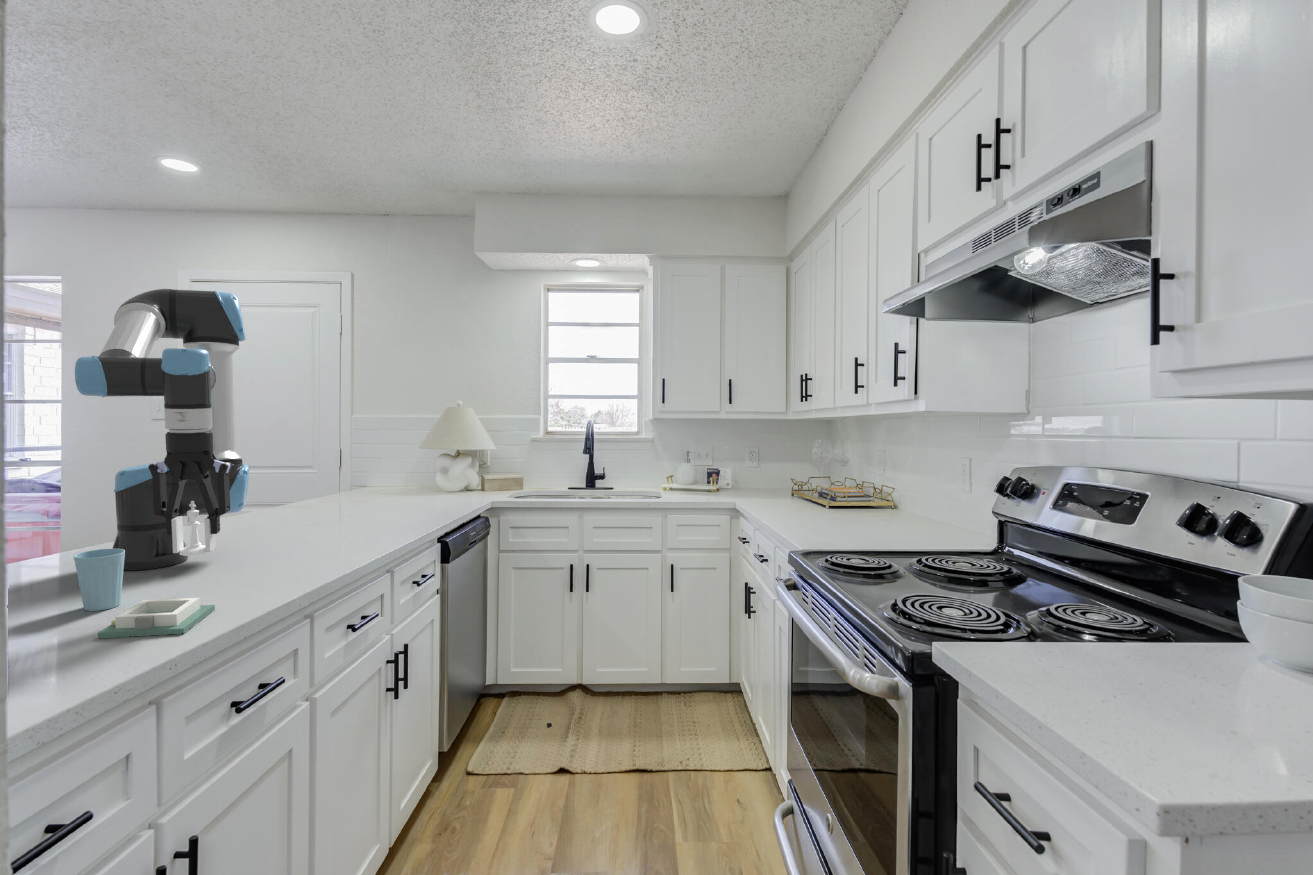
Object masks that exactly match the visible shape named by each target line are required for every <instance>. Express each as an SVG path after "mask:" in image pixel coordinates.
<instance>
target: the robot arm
mask: <svg viewBox="0 0 1313 875" xmlns="http://www.w3.org/2000/svg"><path fill="white" fill-rule="evenodd" d="M113 324H114V328H112V331H111V333H110V335H109V337H108V338H107V341H106V342H105V344H104V345H103V348H102V350H101V352H100V354H99V355H98V356H97V355H92V356H81V357H80V356H79V357H78V358H77V360H76V362H75V365H74V380H75V385H76V389H77V391H78V392H79V393H80V394H81V395H83V396H90V397H91V396H92V397H102V398H106V397H163V402H164V404H163V408H164V410H163V411H164V427H165V429H166V430H168V431H167V432H166V433H165V434H164V435H165V437H164V438H165V450H166V456H165V458H164V460H162V461H159V462H158V461H157V462H153V463H152V462H151V463H146V464H141V465H135V466H134V465H133V466H130V467H126V468H123V469H121V470H119V471H118V472H116V474H115V478H114V481H115V482H114V489H113V492H114V493H115V511H116V530H117V531H116V532H117V533H116V536H115V539H114V542H113V544H112V548H111V549H123V550H125V558H124V569H123V571H141V570H142V571H143V570H151V569H161V568H165V567H170V566H174V565H178V564H180V563H184V562H185V561H187V560H188V559H189V556H183V555H180V554H179V553H180V549H182V548H184V547H187V546H188V545H187V543H186V542H185V540H184V526H183V517H188V515H187V511H190V510H191V507H190V506H189V504H191V501H194V505H196V507H195V510H198V511H199V514H198V516H206V518H204V519H203V520H204V539H205V541H204V545H205V546H206V552H208V553H211V552H212V551H214V550H216V549H217V548H216V546H217V543H216V541H217V540H216V535H217V534H219V533H220V531H221V516H223V515H226V514H232V513H238V512H241V511H242V510H243V509H244V508H245V505H246V502H247V493H248V488H249V480H250V479H249V478H250V466H249V465H248V464H243V457H242V456H241V455H240V454H239V453H238V452H236V444H235V443H236V440H235V439H236V438H235V436H236V435H235V409H234V408H235V407H234V406H235V405H234V376H233V374H234V372H233V371H234V370H233V354H234V353H236V352H237V351H238V350H239V349H240V342H243V341H245V340H247V339H246V333H245V327H244V321H243V314H242V309H241V304H240V301H239V297H237V295H235V294H233V293H230V292H222V291H217V290H191V289H172V288H159V289H152V290H148V291H145V292H142V293H140V294H137V295H135V296H133V297H131V298H129V299H127V300H126V301H124V302H123V303H122V304H121V305H120V306H119V307H118V309H117V310H116V312H115V314H114V318H113ZM159 339H178V340H179V339H181V340H182V346H183V347H184V348H176V347H175V348H174V347H173V348H172V347H169V348H164V349H163V350H162V352H161V357H150V354H151V351H152V349H153V346H154V344H155V342H156V341H158V340H159Z"/></svg>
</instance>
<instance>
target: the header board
mask: <svg viewBox="0 0 1313 875" xmlns="http://www.w3.org/2000/svg"><path fill="white" fill-rule="evenodd" d="M213 610H214V611H215V610H216V605H215V604H202V605H201V598H200V597H188V598H187V597H183V598H164V599H142V600H141V601H139V602H138V603H136V604H134V605H133V606H131V607H130V608H127V609H126V610H124V611H123V612H121V613H119V614H118V615H116V616H115V620H112V621H111V624H110V625H108V626H107V627H105V628H103V629H101V630H100V631H99V632H97V639H98V638H101V639H116V638H117V639H119V638H130V637H129V636H132V637H131V638H134V637H133V636H139V637H151V636H150V635H158V636H168V635H167V634H177V635H185V634H186V633H187V632H189V631H190V630H191V629H192V627H193V626H194V625H195V624H196V623H197V622H199V621H200V620H201V621H203V620H204V619H205V618H207V616H206V615H208V614H209V613H210V614H212V613H211V611H213ZM214 611H213V612H214ZM210 614H209V615H210ZM209 615H208V616H209ZM204 617H205V618H204ZM203 618H204V619H203ZM202 619H203V620H202ZM201 621H200V622H201ZM200 622H199V623H200ZM196 625H197V624H196ZM196 625H195V626H196ZM195 626H194V627H195ZM194 627H193V628H194ZM190 628H191V629H190ZM189 629H190V630H189ZM188 630H189V631H188ZM186 631H187V632H186ZM182 633H183V634H182ZM184 633H185V634H184ZM118 637H119V638H118Z"/></svg>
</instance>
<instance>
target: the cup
mask: <svg viewBox="0 0 1313 875" xmlns="http://www.w3.org/2000/svg"><path fill="white" fill-rule="evenodd" d="M124 558H125V550H123V549H112V548H101V549H91V550H86V551H82V552H79V553H76V554H74V555H73V560H74V565H75V570H76V575H77V580H78V584H79V590H80V595H81V601H82V605H83V609H84V610H85V611H88V612H98V611H106V610H111V609H114V608H116V607H118V606H120V605H121V604H122V602H121V601H122V590H123V580H124V579H123V578H124V570H123V569H124Z"/></svg>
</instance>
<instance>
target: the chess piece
mask: <svg viewBox="0 0 1313 875" xmlns="http://www.w3.org/2000/svg"><path fill="white" fill-rule="evenodd" d="M189 506H190V507H191V510H190V511H187V515H188V516H187V517H188V519H189V522H187V523H186V526H190V528H189V529H190V531H189V541H188V543H186V546H187V547H184V548H182V549H180V553H179V554H180V555H183V556H188V557H189V556H200V555H204V554H207V553H209V552H206V546H205V544H204V545H203V544H202V542H200V537H199V532H198V526H199V525H201V523H200V521H197V520H198V517H199V515H198V514H199V511H198V510H195V507H196V505H194V501H191V504H189Z"/></svg>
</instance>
